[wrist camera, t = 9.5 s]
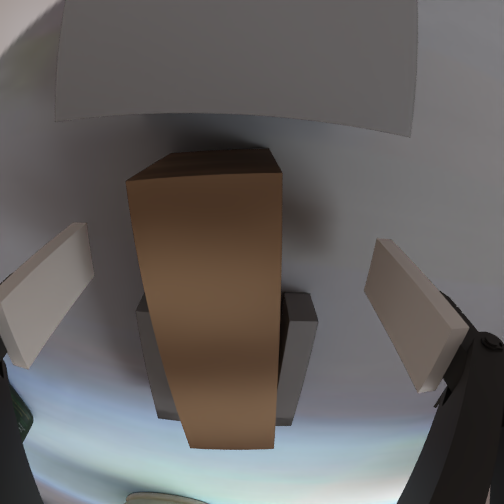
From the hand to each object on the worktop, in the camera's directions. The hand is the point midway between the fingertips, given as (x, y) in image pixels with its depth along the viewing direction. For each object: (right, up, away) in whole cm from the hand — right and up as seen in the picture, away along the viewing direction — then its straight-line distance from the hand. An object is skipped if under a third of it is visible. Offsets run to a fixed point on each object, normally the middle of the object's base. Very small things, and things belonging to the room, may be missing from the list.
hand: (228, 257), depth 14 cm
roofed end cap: (+1, +9, -2) cm, 9 cm away
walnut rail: (0, -1, +3) cm, 4 cm away
